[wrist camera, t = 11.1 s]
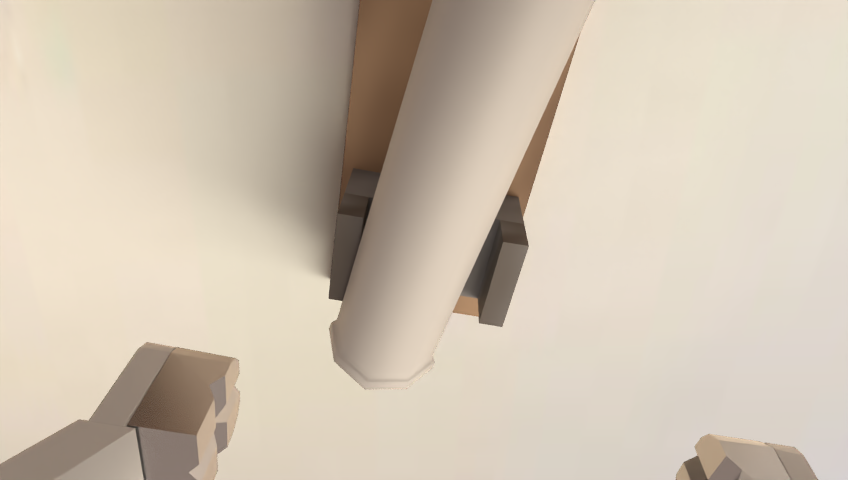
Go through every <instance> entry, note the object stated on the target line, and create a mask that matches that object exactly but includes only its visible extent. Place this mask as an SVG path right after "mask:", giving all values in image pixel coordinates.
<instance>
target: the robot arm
mask: <svg viewBox="0 0 848 480" xmlns="http://www.w3.org/2000/svg"><path fill="white" fill-rule="evenodd" d="M239 374H240V373H239V360H238V359H236V358H232V357H227V356H222V355H216V354H211V353H206V352H200V351H195V350H190V349H184V348H179V347H171V346H166V345H160V344H155V343H149V342H147V343H145V344H144V345H143V346H141V347H140V348H139V349H138V350H137V351H136V353H135V354H134V356H133V357H132V358H131V360H130V361H129V363H128V364H127V366H126V367H125V369H124V370H123V371H122V373H121V374H120V376H119V377H118V379H117V380H116V382H115V383H114V385H113V386H112V387H111V389H110V390H109V392H108V393H107V395H106V396H105V398H104V399H103V401H102V402H101V403H100V405H99V406H98V408H97V409H96V411H95V412H94V414H93V415H92V417H91V418H90V419H89V421H88V420H80V419H79V420H77V421H75V422H74V423H72V424H70V425H68V426H66V427H65V428H63V429H61V430H59V431H58V432H56V433H54V434H52V435H51V436H49V437H47V438H45V439H44V440H42V441H40V442H38V443H36V444H35V445H33V446H31V447H29V448H28V449H26V450H24V451H22V452H21V453H19V454H17V455H15V456H13V457H12V458H10V459H8V460H6V461H5V462H3V463H1V464H0V480H214V479H215V476H216V474H217V471H218V462H217V454H218V453H220V452H221V451H222V450H224V449H225V448H227V447H228V444H229V442H230V439H231V437H232V434H233V431H234V428H235V424H236V420H237V416H238V411H239V403H240V392H239V390H238V389H237V388H236V387H235V386H234V385H235V383H236V381H237V378H238V376H239ZM695 450H696V453H697V456H696V457H694V458H692V459H690V460H687V461H685V462H684V463H683V464H682V466H681V468H680V469H679V471H678V472H677V474H676V480H818V479H817V477H816V475H815V474H814V472H813V470H812V469H811V467H810V465H809V464H808V462H807V460H806V459H805V457H804V455H803V454H802V453H801V452H800V451H798V450H797V449H796V448H795V447H790V446H784V445H777V444H771V443H762V442H760V441H753V440H747V439H740V438H733V437H727V436H720V435H713V434H707V435H705V436H703V437H701V438H700V440H699V441H698V442H697V444H696V445H695Z"/></svg>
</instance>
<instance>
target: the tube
mask: <svg viewBox="0 0 848 480" xmlns="http://www.w3.org/2000/svg"><path fill="white" fill-rule="evenodd" d="M594 2H595V0H432V4H431V7H430V10H429V14H428V17H427V20H426V24H425V27H424V30H423V34H422V37H421V41H420V44H419V47H418V51H417V54H416V57H415V61H414V64H413V67H412V71H411V74H410V77H409V81H408V84H407V87H406V91H405V94H404V97H403V101H402V104H401V107H400V111H399V114H398V118H397V121H396V124H395V128H394V131H393V134H392V138H391V141H390V144H389V148H388V151H387V154H386V158H385V161H384V164H383V168H382V171H381V174H380V178H379V181H378V184H377V188H376V191H375V195H374V198H373V201H372V205H371V208H370V211H369V215H368V218H367V221H366V225H365V228H364V231H363V235H362V238H361V241H360V245H359V248H358V251H357V255H356V258H355V261H354V265H353V268H352V272H351V275H350V278H349V282H348V285H347V288H346V292H345V295H344V298H343V302H342V305H341V308H340V312H339V315H338V318H337V320H335V321H333V322H332V323H331V325H330V328H329V331H330V338H331V344H332V351H333V358H334V362H335V363H337V364H338V365H339V366H340V367H341V368H342V369H343V370H344V371H345V372H346V373H347V374H349V375H350V376H351V377H352V378H353V379H354V380H355V381H356V382H357V383H358V384H359V385H360V386H362V387H363V388H364V389H407V388H408V387H410V386H411V385H412V384H413V383H415V382H416V381H417V380H418V379H420V378H421V377H422V376H423V375H425V374H426V373H427V372H428V371H429V370H431V369H432V368H433V365H434V363H435V362H434V359H433V353H434V351H435V349H436V347H437V345H438V342H439V340H440V338H441V336H442V334H443V332H444V329H445V327H446V325H447V323H448V321H449V318H450V316H451V314H452V312H453V310H454V308H455V305H456V303H457V301H458V299H459V297H460V294H461V292H462V290H463V288H464V286H465V283H466V281H467V279H468V277H469V275H470V273H471V270H472V268H473V266H474V264H475V262H476V259H477V257H478V255H479V253H480V251H481V249H482V246H483V244H484V242H485V240H486V238H487V235H488V233H489V231H490V229H491V227H492V224H493V222H494V220H495V218H496V216H497V214H498V211H499V209H500V207H501V205H502V203H503V200H504V198H505V196H506V194H507V192H508V190H509V187H510V185H511V183H512V181H513V179H514V176H515V174H516V172H517V170H518V168H519V165H520V163H521V161H522V159H523V157H524V155H525V152H526V150H527V148H528V146H529V144H530V141H531V139H532V137H533V135H534V133H535V130H536V128H537V126H538V124H539V122H540V120H541V117H542V115H543V113H544V111H545V109H546V106H547V104H548V102H549V100H550V98H551V96H552V93H553V91H554V89H555V87H556V85H557V82H558V80H559V78H560V76H561V74H562V71H563V69H564V67H565V65H566V63H567V61H568V58H569V56H570V54H571V52H572V50H573V47H574V45H575V43H576V41H577V39H578V37H579V34H580V32H581V30H582V28H583V26H584V23H585V21H586V19H587V17H588V15H589V12H590V10H591V8H592V6H593V4H594Z"/></svg>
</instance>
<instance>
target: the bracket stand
mask: <svg viewBox="0 0 848 480" xmlns="http://www.w3.org/2000/svg"><path fill="white" fill-rule="evenodd" d="M431 4H432V0H360V4H359V14H358V24H357V34H356V43H355V53H354V63H353V72H352V82H351V92H350V102H349V111H348V121H347V131H346V140H345V150H344V160H343V170H342V179H341V189H340V199H339V208H338V213H337V220H336V230H335V240H334V250H333V260H332V269H331V279H330V289H329V299H334V300H340V301H343V298H344V295H345V292H346V288H347V285H348V282H349V278H350V275H351V272H352V268H353V265H354V261H355V258H356V255H357V251H358V248H359V245H360V241H361V238H362V235H363V231H364V228H365V225H366V221H367V218H368V215H369V211H370V208H371V205H372V201H373V198H374V195H375V191H376V188H377V184H378V181H379V178H380V174H381V171H382V168H383V164H384V161H385V158H386V154H387V151H388V148H389V144H390V141H391V138H392V134H393V131H394V128H395V124H396V121H397V118H398V114H399V111H400V107H401V104H402V101H403V97H404V94H405V91H406V87H407V84H408V81H409V77H410V74H411V71H412V67H413V64H414V61H415V57H416V54H417V51H418V47H419V44H420V41H421V37H422V34H423V30H424V27H425V24H426V20H427V17H428V14H429V10H430V7H431ZM579 35H580V34H579ZM578 38H579V37H578ZM577 42H578V39H577V41H576V43H575V45H574V47H573V50H572V52H571V54H570V56H569V58H568V61H567V63H566V65H565V67H564V69H563V71H562V74H561V76H560V78H559V80H558V82H557V85H556V87H555V89H554V91H553V93H552V96H551V98H550V100H549V102H548V104H547V106H546V109H545V111H544V113H543V115H542V117H541V120H540V122H539V124H538V126H537V128H536V130H535V133H534V135H533V137H532V139H531V141H530V144H529V146H528V148H527V150H526V152H525V155H524V157H523V159H522V161H521V163H520V165H519V168H518V170H517V172H516V174H515V176H514V179H513V181H512V183H511V185H510V187H509V190H508V192H507V194H506V196H505V198H504V200H503V203H502V205H501V207H500V209H499V211H498V214H497V216H496V218H495V220H494V222H493V224H492V227H491V229H490V231H489V233H488V235H487V238H486V240H485V242H484V244H483V246H482V249H481V251H480V253H479V255H478V257H477V259H476V262H475V264H474V266H473V268H472V270H471V273H470V275H469V277H468V279H467V281H466V283H465V286H464V288H463V290H462V292H461V294H460V297H459V299H458V301H457V303H456V305H455V308H454V310H453V312H454V313H460V314H466V315H472V316H478V317H479V323H482V324H488V325H494V326H500V327H502V326H503V323H504V320H505V317H506V314H507V311H508V308H509V305H510V302H511V298H512V295H513V292H514V289H515V286H516V283H517V280H518V277H519V274H520V271H521V268H522V265H523V262H524V259H525V256H526V253H527V250H528V247H529V245H528V241H527V236H526V231H525V226H524V221H523V215H524V212H525V209H526V206H527V202H528V199H529V196H530V193H531V190H532V186H533V183H534V180H535V177H536V174H537V170H538V167H539V164H540V161H541V157H542V154H543V151H544V148H545V145H546V141H547V138H548V135H549V132H550V129H551V125H552V122H553V119H554V116H555V112H556V109H557V106H558V103H559V100H560V96H561V93H562V90H563V87H564V83H565V80H566V77H567V74H568V71H569V67H570V64H571V61H572V58H573V55H574V51H575V48H576V45H577Z"/></svg>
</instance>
